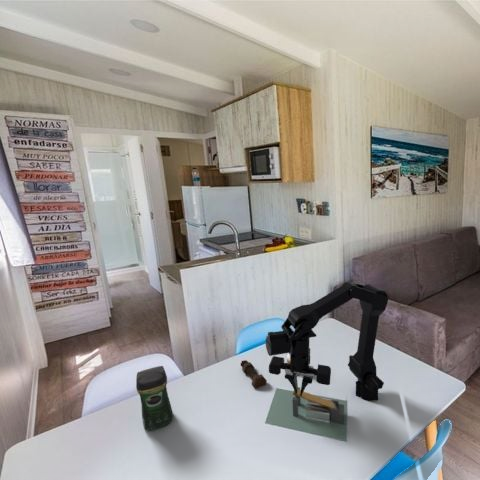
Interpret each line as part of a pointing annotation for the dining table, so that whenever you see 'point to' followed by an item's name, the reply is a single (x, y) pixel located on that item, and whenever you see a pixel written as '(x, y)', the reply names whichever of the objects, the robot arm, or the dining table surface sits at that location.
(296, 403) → the lug fork
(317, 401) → the brown long flat bar
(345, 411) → the board
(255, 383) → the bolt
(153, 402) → the coffee jar
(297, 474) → the dining table surface
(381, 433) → the dining table surface
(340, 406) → the block
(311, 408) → the heatsink
